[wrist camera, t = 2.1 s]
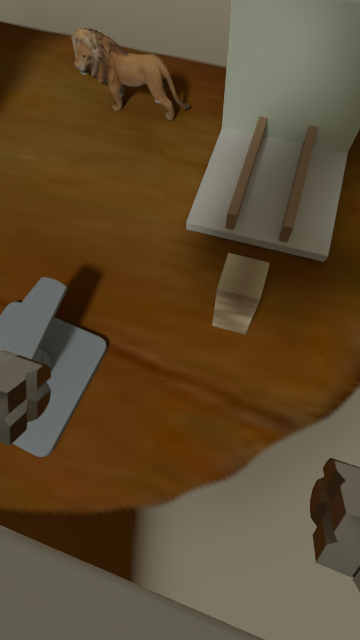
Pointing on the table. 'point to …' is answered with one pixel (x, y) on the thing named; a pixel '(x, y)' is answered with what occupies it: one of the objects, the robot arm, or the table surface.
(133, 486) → the table surface
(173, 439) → the table surface
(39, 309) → the shower valve
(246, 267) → the beige wooden block
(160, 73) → the lion figurine
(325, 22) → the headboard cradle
